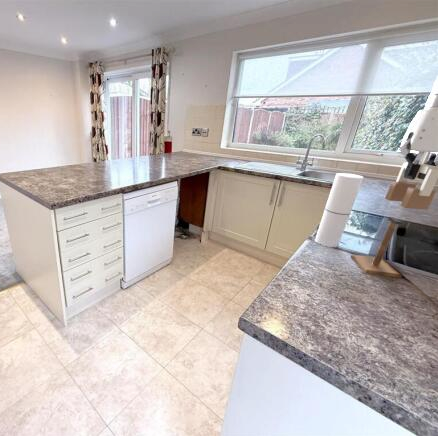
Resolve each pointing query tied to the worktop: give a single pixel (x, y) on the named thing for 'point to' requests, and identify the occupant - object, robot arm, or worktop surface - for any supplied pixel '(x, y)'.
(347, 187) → the cylindrical container
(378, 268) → the stand
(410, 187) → the wooden bracket
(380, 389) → the worktop surface
